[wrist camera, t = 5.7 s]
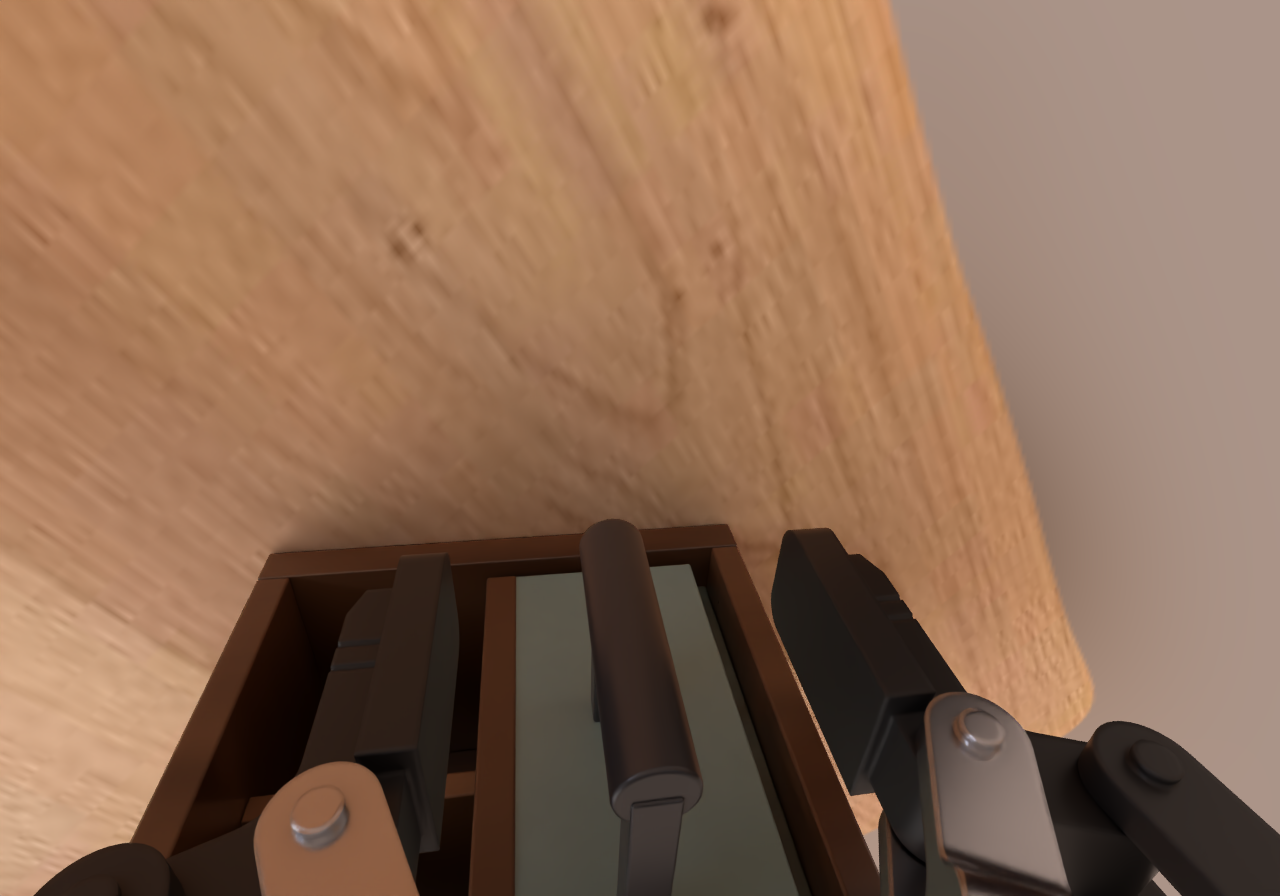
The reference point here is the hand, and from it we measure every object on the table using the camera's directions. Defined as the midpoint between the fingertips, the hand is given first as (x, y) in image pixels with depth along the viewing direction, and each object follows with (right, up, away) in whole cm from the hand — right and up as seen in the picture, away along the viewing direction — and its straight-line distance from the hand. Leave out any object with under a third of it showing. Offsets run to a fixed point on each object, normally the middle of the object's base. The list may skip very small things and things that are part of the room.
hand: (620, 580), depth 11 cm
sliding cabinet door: (-1, +1, +6) cm, 6 cm away
